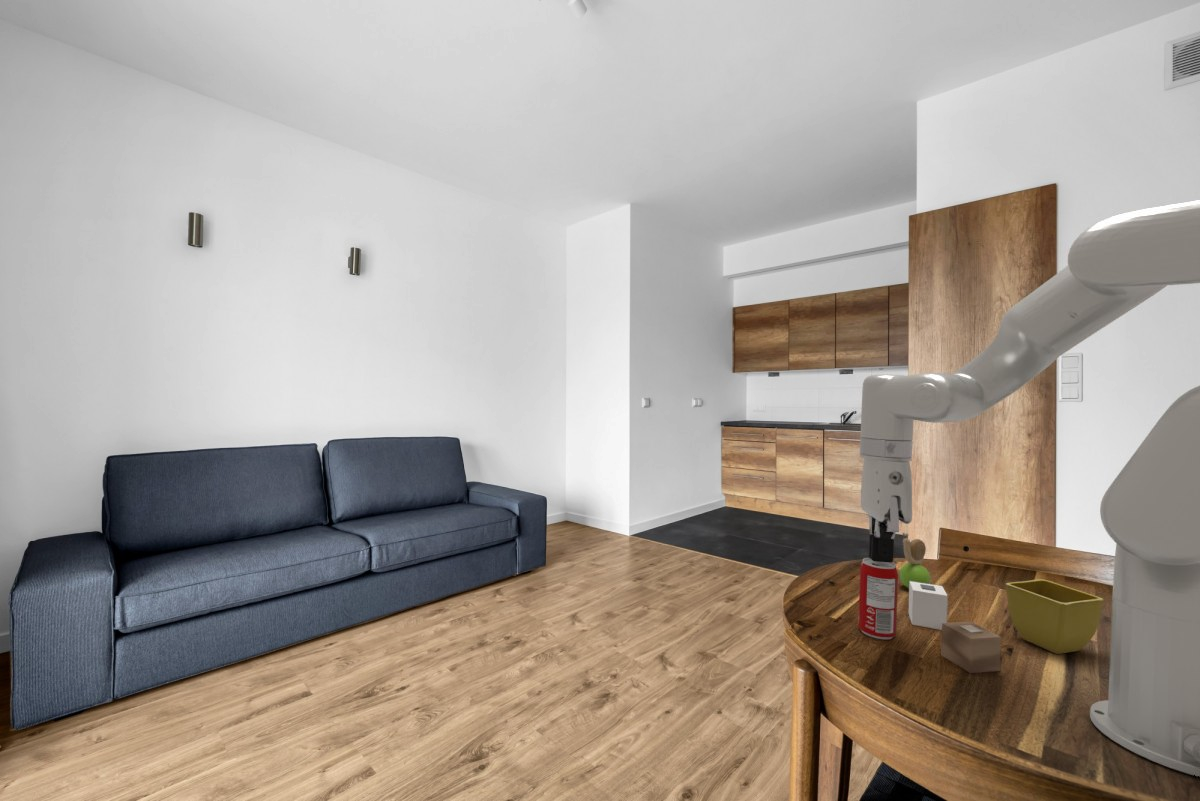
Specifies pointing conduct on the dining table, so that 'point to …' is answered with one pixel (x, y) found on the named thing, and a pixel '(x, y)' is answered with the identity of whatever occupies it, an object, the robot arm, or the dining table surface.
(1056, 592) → the flower pot
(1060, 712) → the dining table surface
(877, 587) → the soda can
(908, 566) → the snail figurine
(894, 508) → the robot arm
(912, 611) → the white block
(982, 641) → the walnut block
